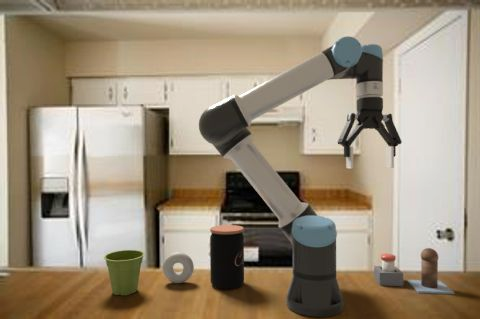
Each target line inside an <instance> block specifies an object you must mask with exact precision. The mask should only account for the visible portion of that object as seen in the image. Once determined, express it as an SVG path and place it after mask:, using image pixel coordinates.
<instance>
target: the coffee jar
mask: <svg viewBox="0 0 480 319" xmlns="http://www.w3.org/2000/svg"><path fill="white" fill-rule="evenodd" d="M209 230H210V231H209V232H210V233H211V235H210V237H209V238H210V239H209V243H210V244H209V246H210V247H209V256H210V257H209V258H210V260H209V261H210V269H209V270H210V271H209V272H210V283H211V286H212V287H213V286H214V287H213V288H215V287H216V288H215V289H217V288H218V290H221V289H222V291H231V289H232V290H236V288H237V289H238V288H239V289H240V288H241V287H242V286H243V284H244V282H245V239H244V237H245V236H244V234H243V232H244V226H241V225H235V224H223V225H222V224H220V225H214V226H212V227H209Z"/></svg>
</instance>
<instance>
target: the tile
mask: <svg viewBox="0 0 480 319" xmlns="http://www.w3.org/2000/svg"><path fill="white" fill-rule="evenodd" d="M406 283H408V284H409V286H411V288H413V290H414V291H416V292H417V293H418V294H438V295H455V291H454V290H452V289H451V288H450V287H449V286H447V285H446V284H445V283H444V282H442V281H441V280H438V287H437V288H427V287H424V286H422V285H421V279H406Z"/></svg>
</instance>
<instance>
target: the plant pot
mask: <svg viewBox="0 0 480 319" xmlns="http://www.w3.org/2000/svg"><path fill="white" fill-rule="evenodd" d="M145 255H146V254H145V252H144V251H143V250H137V249H123V250H115V251H111V252H109V253H106V254H105V255H104V256H103V260H105V263H106V267H107V270H108V271H107V272H108V275H109V281H110V286H111V292H112V294H113V295H115V296H119V295H121V296H124V295H125V296H129V295H132V293H133V294H134V293H136V292H137V291H138V286H139V280H140V275H141V274H140V273H141V269H142V268H141V266H142V263H143V259H144V256H145Z"/></svg>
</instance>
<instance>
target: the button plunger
mask: <svg viewBox="0 0 480 319" xmlns="http://www.w3.org/2000/svg"><path fill="white" fill-rule="evenodd" d="M396 258H397V256H396V255H395V254H389V253H381V254H380V259H381V266H382V271H384V272H395V267H396V265H395V264H396V263H395V261H396V260H397V259H396Z"/></svg>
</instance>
